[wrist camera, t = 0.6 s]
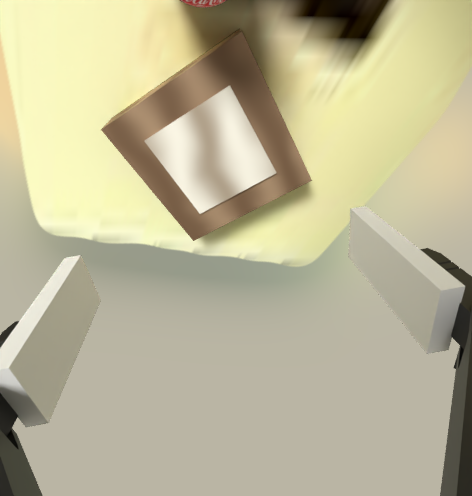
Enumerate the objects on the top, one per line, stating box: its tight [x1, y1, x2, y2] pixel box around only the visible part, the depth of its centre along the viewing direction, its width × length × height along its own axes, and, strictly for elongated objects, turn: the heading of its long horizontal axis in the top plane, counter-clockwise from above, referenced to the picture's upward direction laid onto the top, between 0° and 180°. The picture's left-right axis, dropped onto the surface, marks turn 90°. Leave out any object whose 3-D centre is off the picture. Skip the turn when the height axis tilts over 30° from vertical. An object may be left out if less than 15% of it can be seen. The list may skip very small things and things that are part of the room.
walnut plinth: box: [101, 29, 312, 241], centre depth 35 cm, size 16×16×4 cm
